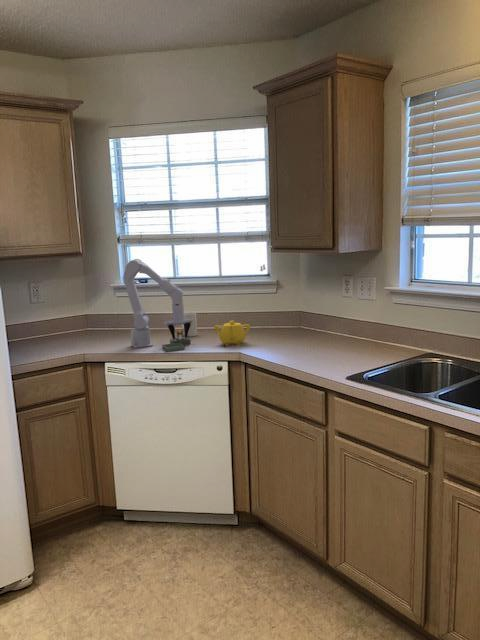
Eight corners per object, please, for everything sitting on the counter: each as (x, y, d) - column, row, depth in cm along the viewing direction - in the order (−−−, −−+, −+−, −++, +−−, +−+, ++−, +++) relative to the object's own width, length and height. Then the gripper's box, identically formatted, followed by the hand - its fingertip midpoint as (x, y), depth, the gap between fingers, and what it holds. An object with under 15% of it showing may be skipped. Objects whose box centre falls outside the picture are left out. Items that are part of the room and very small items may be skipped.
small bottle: (178, 345, 277) (177, 331, 276) (176, 343, 280) (175, 330, 279) (184, 344, 278) (183, 330, 277) (182, 343, 281) (181, 329, 280)
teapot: (212, 345, 274) (211, 322, 271) (233, 339, 283) (231, 317, 281) (231, 348, 264) (230, 324, 262) (252, 343, 274) (251, 320, 272)
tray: (166, 351, 263) (166, 348, 263) (162, 348, 272) (162, 344, 271) (184, 349, 267) (184, 346, 266) (179, 346, 275) (179, 342, 275)
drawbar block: (173, 346, 274) (173, 341, 274) (170, 343, 281) (169, 339, 280) (190, 344, 277) (190, 339, 277) (186, 341, 284) (186, 337, 283)
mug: (199, 334, 301) (198, 312, 299) (193, 336, 295) (192, 315, 293) (184, 333, 306) (183, 312, 304) (178, 335, 300) (176, 314, 298)
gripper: (166, 314, 270) (168, 341, 272) (194, 311, 275) (195, 338, 277) (162, 312, 276) (164, 339, 279) (190, 309, 281) (191, 335, 284)
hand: (180, 338), depth 278 cm, fingers open, 6 cm apart
